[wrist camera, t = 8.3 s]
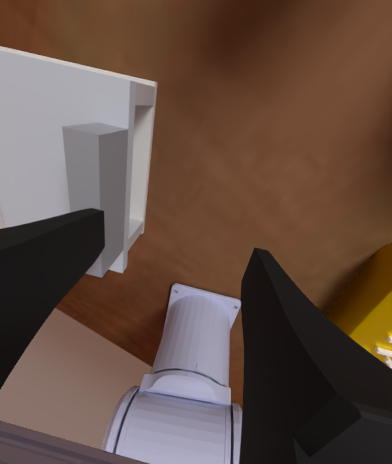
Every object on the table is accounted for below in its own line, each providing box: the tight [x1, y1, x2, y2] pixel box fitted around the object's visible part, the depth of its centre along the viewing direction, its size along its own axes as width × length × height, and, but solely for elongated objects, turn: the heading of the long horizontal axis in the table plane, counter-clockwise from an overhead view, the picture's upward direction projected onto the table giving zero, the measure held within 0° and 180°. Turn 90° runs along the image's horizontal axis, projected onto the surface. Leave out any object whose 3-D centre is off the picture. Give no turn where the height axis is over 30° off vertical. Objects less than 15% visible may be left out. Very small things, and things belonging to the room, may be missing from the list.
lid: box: [0, 50, 136, 278], centre depth 13 cm, size 12×9×4 cm
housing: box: [0, 46, 157, 250], centre depth 18 cm, size 13×18×6 cm
